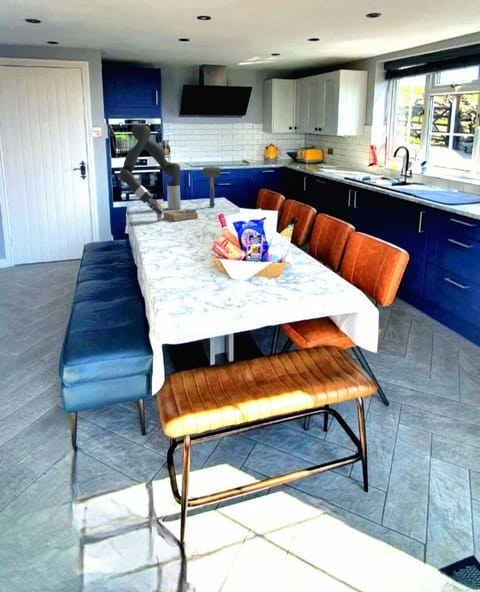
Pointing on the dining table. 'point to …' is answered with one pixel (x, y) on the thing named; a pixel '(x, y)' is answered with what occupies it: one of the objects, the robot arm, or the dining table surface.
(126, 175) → the robot arm
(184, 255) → the dining table surface
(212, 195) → the rubber mallet
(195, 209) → the stud finder
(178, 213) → the subfloor panel
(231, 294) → the dining table surface
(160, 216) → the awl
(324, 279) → the dining table surface
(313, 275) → the dining table surface
